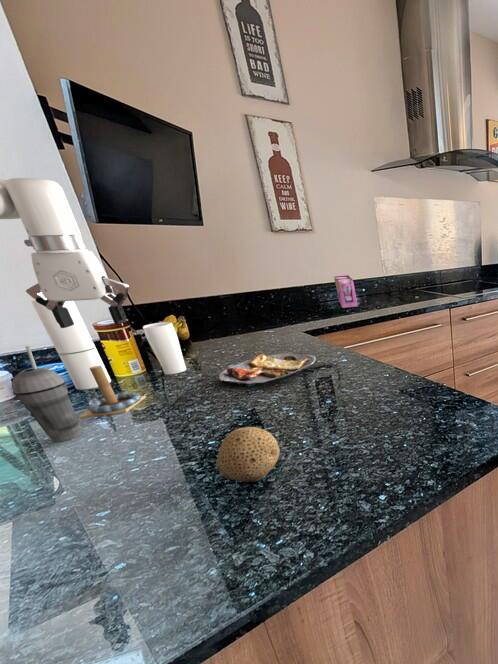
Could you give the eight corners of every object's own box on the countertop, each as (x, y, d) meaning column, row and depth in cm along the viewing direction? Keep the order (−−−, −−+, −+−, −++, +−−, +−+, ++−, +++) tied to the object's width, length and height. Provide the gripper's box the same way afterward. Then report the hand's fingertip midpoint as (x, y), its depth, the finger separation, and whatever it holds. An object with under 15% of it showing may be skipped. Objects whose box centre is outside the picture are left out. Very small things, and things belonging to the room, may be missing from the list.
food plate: (201, 384, 110) (196, 372, 109) (270, 357, 130) (267, 347, 129) (270, 392, 103) (266, 380, 102) (332, 363, 123) (329, 352, 122)
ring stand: (80, 420, 91) (57, 376, 87) (104, 404, 99) (84, 363, 94) (127, 414, 93) (107, 370, 89) (147, 399, 101) (129, 358, 97)
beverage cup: (44, 437, 84) (-8, 348, 76) (91, 424, 89) (47, 340, 81) (40, 449, 80) (-15, 356, 72) (90, 436, 84) (43, 347, 76)
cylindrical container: (113, 379, 115) (73, 294, 105) (111, 386, 110) (68, 297, 100) (79, 386, 111) (34, 297, 101) (75, 394, 106) (27, 301, 96)
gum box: (358, 306, 203) (353, 280, 198) (342, 308, 200) (336, 281, 195) (353, 299, 223) (348, 275, 218) (338, 301, 220) (333, 276, 214)
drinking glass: (156, 376, 117) (135, 327, 111) (178, 368, 123) (160, 321, 117) (173, 377, 115) (154, 328, 109) (195, 369, 121) (178, 322, 115)
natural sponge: (295, 478, 68) (280, 428, 64) (236, 505, 62) (216, 452, 58) (276, 459, 74) (261, 412, 70) (220, 482, 67) (200, 432, 64)
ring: (80, 416, 90) (77, 410, 90) (104, 400, 99) (102, 395, 98) (129, 409, 93) (126, 404, 92) (148, 394, 101) (146, 389, 100)
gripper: (-10, 247, 76) (33, 332, 83) (99, 244, 81) (132, 325, 88) (21, 245, 83) (58, 324, 90) (120, 242, 88) (149, 318, 94)
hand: (94, 324), depth 89 cm, fingers open, 9 cm apart
